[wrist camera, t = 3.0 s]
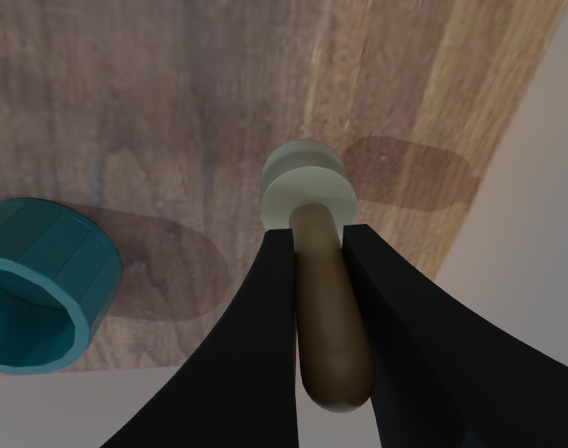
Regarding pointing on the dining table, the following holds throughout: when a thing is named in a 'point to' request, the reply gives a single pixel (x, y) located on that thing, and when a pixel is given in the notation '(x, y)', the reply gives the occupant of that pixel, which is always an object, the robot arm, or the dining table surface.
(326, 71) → the dining table surface
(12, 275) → the cup
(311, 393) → the brush
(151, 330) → the dining table surface
